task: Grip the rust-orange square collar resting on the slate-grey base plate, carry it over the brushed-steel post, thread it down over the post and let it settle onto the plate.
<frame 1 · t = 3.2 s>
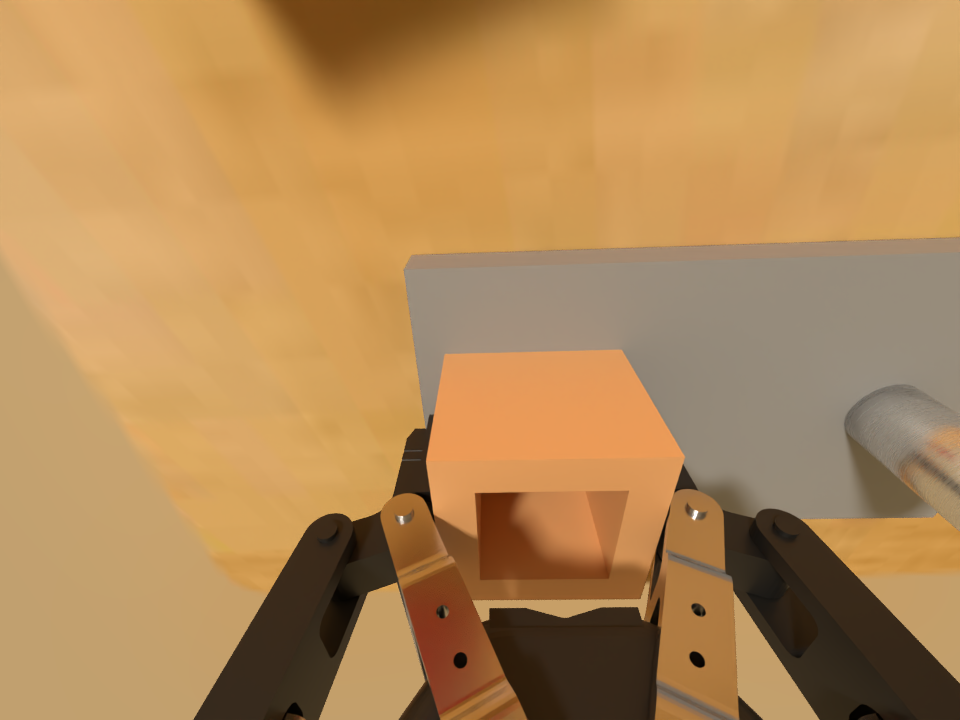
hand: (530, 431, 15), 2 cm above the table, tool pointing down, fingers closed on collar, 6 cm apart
collar: (530, 420, 15), point 2 cm above the table, touching base plate, gripper
steel post: (851, 389, 16), resting on base plate
base plate: (699, 392, 16), on the table
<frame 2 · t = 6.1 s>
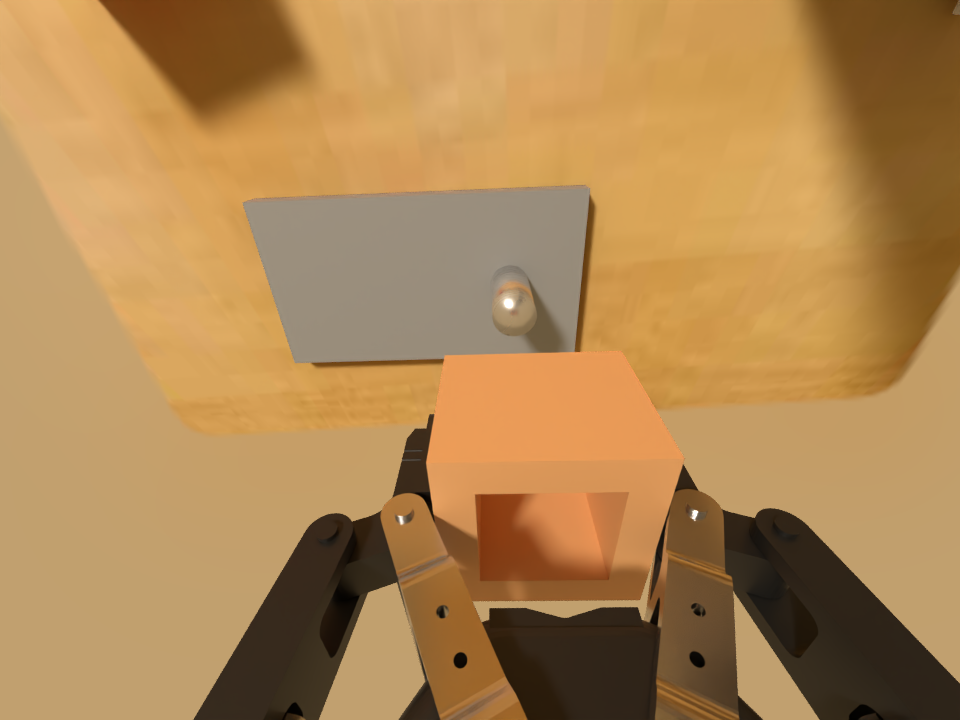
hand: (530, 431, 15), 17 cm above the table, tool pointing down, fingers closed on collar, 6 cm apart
collar: (530, 421, 15), point 17 cm above the table, touching gripper
steel post: (508, 276, 29), resting on base plate
base plate: (427, 279, 29), on the table
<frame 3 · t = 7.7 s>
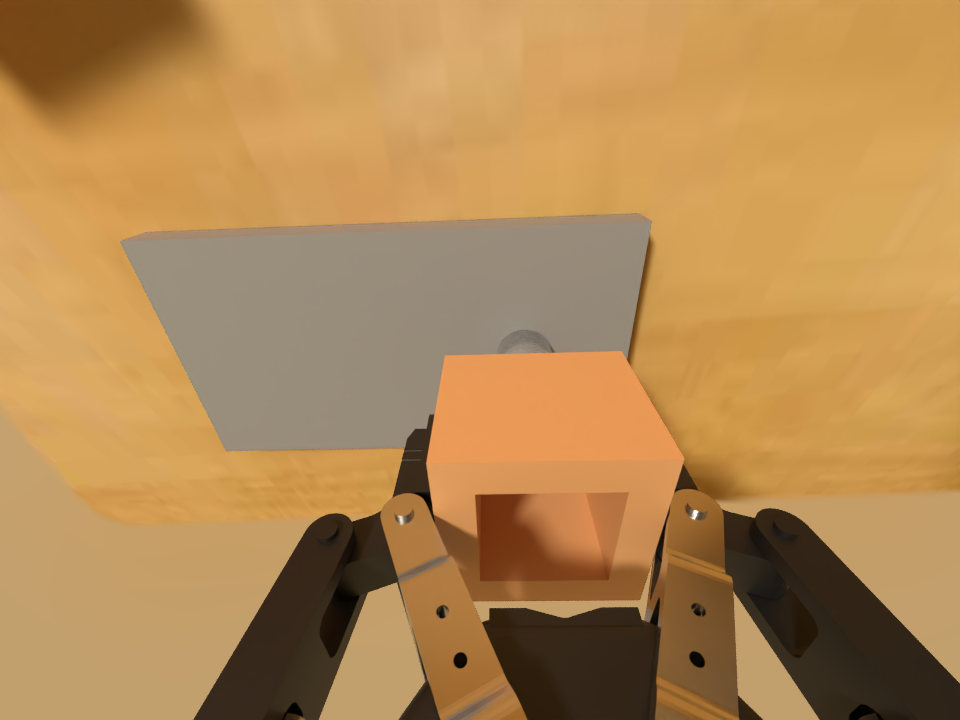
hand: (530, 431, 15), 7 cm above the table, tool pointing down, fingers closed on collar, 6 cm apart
collar: (529, 421, 15), point 6 cm above the table, touching gripper
steel post: (521, 338, 21), resting on base plate
base plate: (405, 342, 21), on the table
when the fingers open (3 cm above the table, at t = 9.0 s): collar stays where it is, resting on base plate.
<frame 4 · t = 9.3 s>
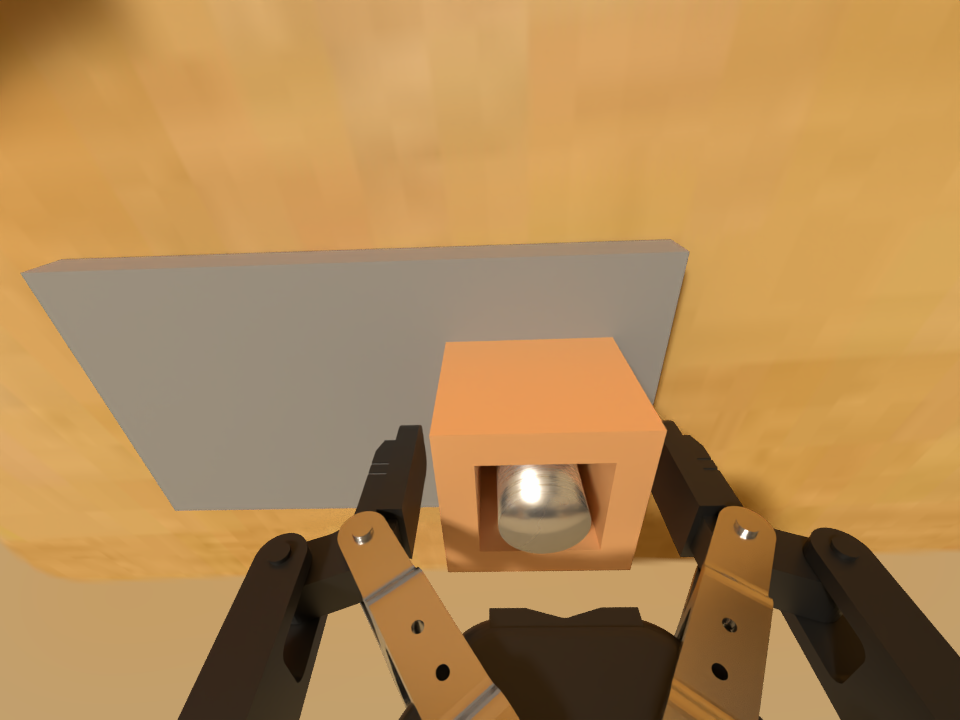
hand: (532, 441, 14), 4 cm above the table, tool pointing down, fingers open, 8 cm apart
collar: (526, 405, 16), point 1 cm above the table, touching base plate
steel post: (523, 384, 17), resting on base plate
base plate: (385, 387, 17), on the table
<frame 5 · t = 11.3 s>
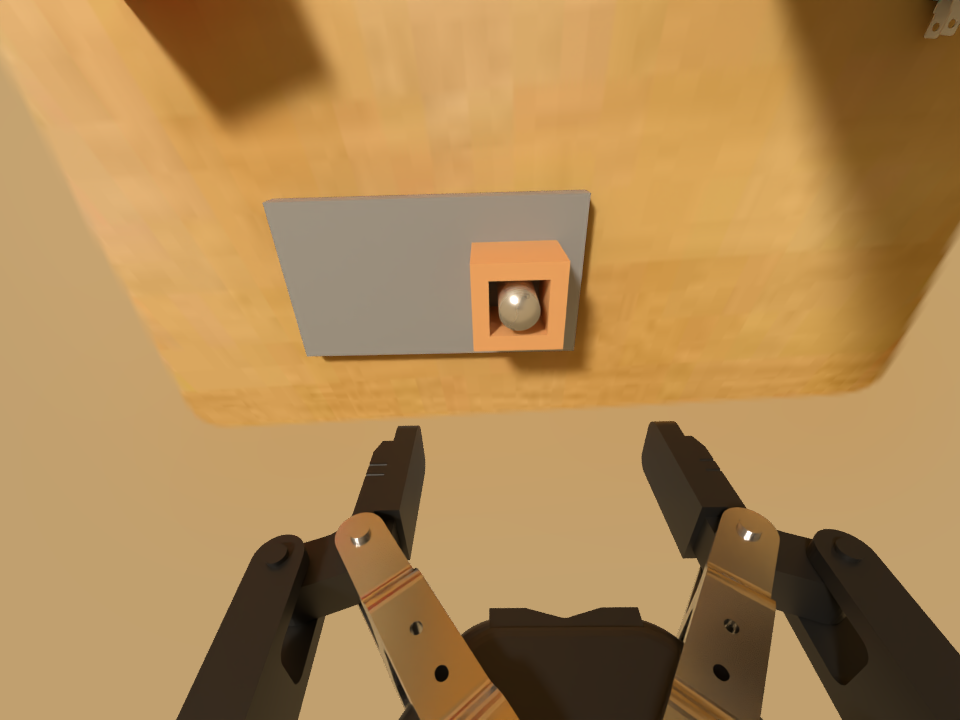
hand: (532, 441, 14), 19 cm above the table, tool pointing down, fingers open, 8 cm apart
collar: (513, 282, 30), point 1 cm above the table, touching base plate
steel post: (512, 275, 31), resting on base plate
base plate: (435, 277, 31), on the table
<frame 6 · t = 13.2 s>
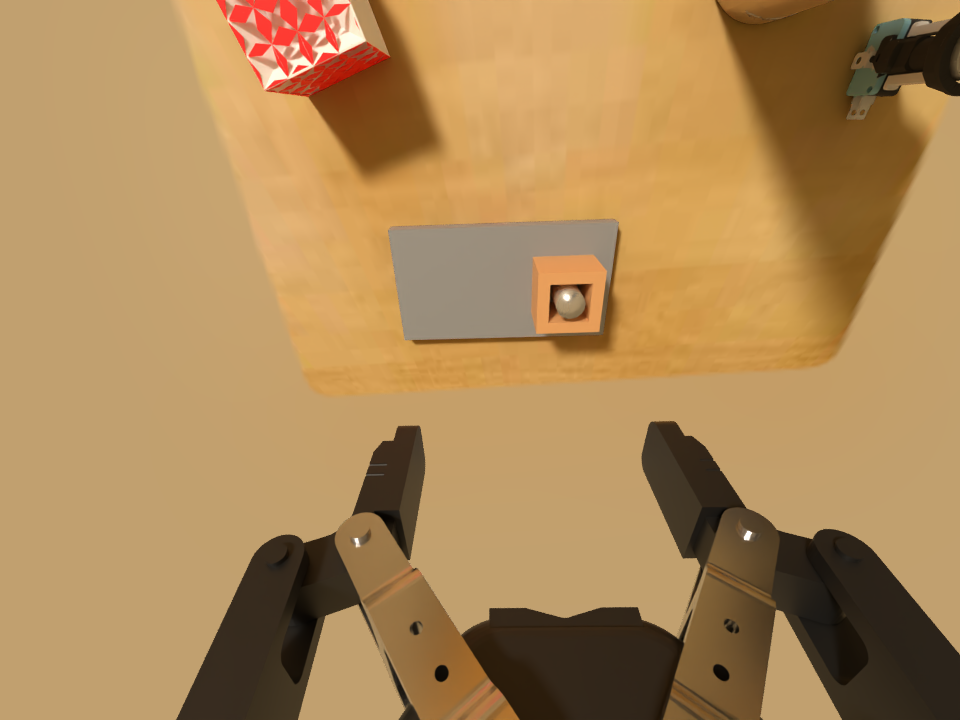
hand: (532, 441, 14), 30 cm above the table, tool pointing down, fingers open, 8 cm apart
collar: (561, 284, 41), point 1 cm above the table, touching base plate
steel post: (558, 279, 42), resting on base plate
push button: (863, 72, 33), on the table
base plate: (502, 281, 42), on the table
red white patterned cube: (324, 21, 32), on the table
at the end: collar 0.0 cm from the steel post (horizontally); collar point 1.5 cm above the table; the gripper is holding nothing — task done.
